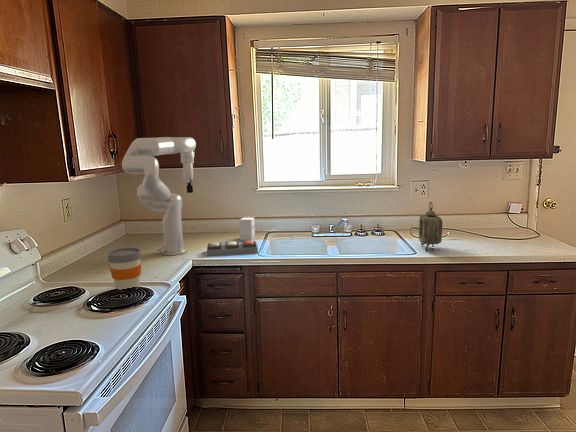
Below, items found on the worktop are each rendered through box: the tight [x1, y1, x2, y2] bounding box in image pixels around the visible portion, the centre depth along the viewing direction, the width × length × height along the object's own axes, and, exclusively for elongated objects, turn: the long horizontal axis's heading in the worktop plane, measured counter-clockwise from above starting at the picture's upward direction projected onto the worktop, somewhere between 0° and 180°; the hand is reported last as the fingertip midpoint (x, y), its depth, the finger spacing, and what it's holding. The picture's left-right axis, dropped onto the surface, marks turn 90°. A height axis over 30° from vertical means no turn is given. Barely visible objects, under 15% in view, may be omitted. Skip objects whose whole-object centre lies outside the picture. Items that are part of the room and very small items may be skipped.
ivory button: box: [227, 241, 238, 245], centre depth 214 cm, size 5×5×2 cm
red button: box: [244, 240, 255, 244], centre depth 215 cm, size 5×5×2 cm
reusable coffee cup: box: [107, 247, 142, 290], centre depth 165 cm, size 13×13×15 cm
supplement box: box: [238, 217, 256, 241], centre depth 239 cm, size 7×7×13 cm
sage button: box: [210, 242, 220, 246], centre depth 212 cm, size 5×5×2 cm
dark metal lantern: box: [418, 201, 443, 251], centre depth 211 cm, size 14×9×25 cm, turn 171°
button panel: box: [206, 240, 259, 257], centre depth 214 cm, size 26×10×4 cm, turn 99°
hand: (190, 192), depth 231 cm, fingers closed
